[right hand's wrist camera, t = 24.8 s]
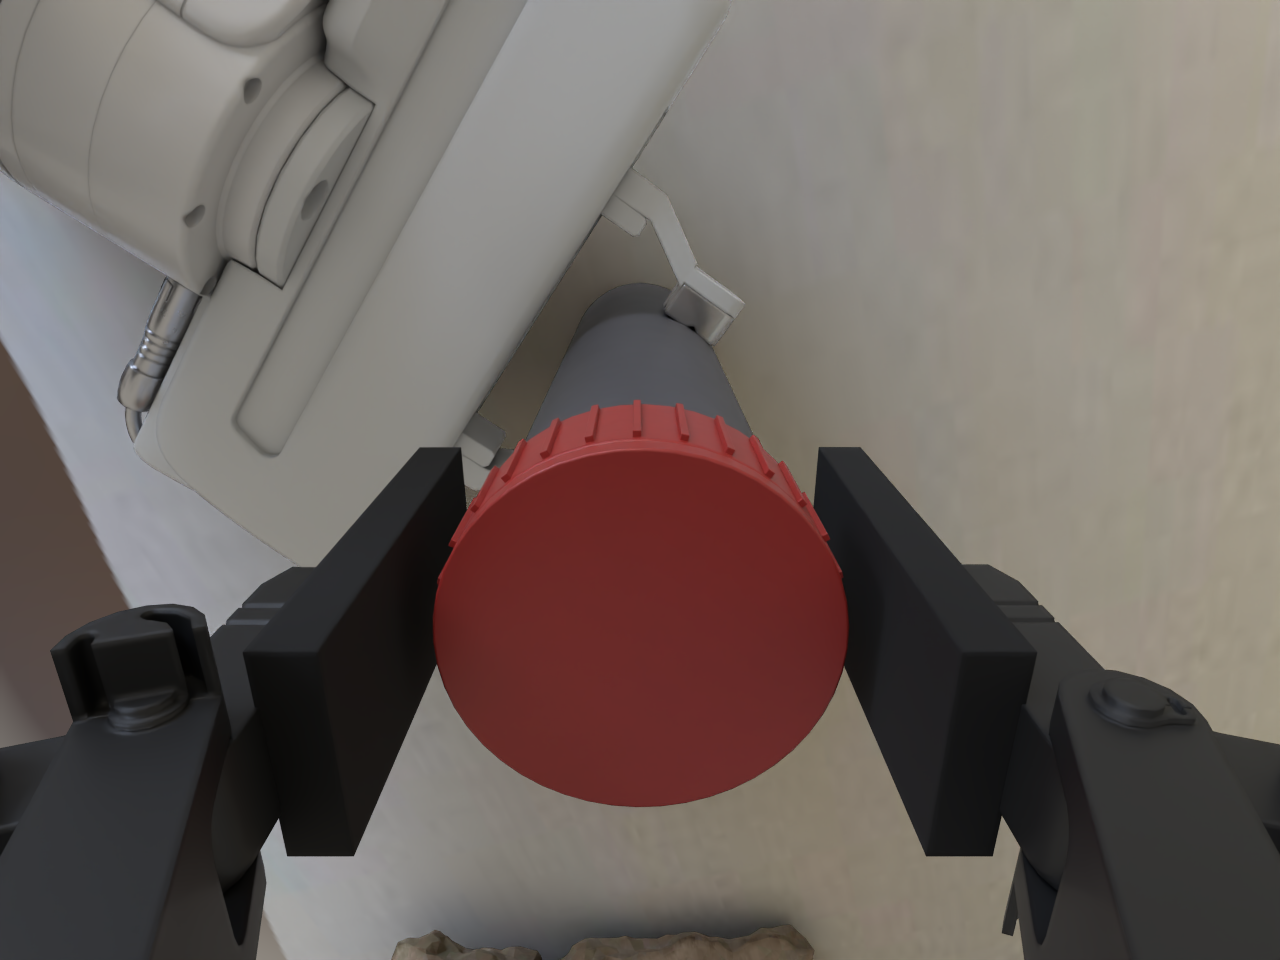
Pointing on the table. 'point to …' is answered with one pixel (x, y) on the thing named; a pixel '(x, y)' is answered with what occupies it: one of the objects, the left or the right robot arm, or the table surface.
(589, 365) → the dark grey bottle
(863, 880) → the table surface
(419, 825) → the table surface
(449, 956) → the stone
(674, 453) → the lid
